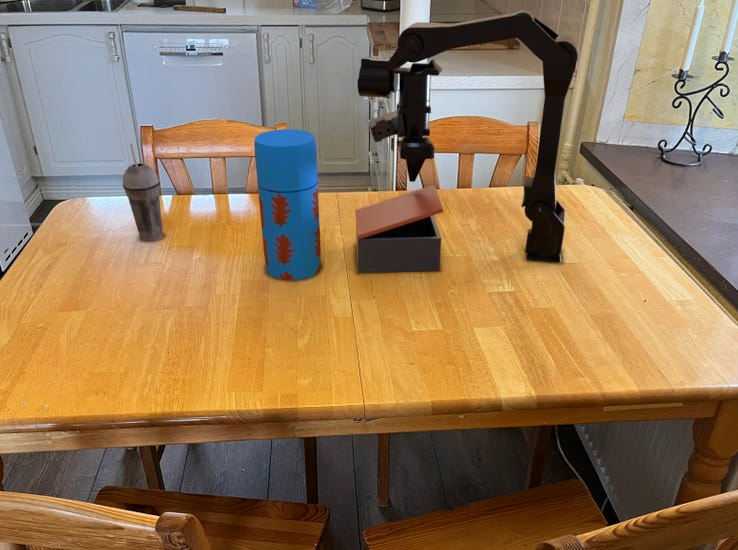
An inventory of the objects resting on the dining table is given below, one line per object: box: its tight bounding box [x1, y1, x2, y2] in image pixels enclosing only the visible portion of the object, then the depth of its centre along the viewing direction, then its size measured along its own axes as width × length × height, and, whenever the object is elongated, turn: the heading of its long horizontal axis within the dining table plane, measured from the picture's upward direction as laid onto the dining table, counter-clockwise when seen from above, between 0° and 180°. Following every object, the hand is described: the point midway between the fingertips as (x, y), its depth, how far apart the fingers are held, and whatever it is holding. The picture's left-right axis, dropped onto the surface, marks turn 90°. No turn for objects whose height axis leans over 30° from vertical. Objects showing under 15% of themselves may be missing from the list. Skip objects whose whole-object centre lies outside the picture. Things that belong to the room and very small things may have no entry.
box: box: [355, 215, 442, 274], centre depth 135 cm, size 16×13×7 cm
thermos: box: [253, 128, 322, 281], centre depth 126 cm, size 11×11×25 cm
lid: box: [355, 184, 444, 239], centre depth 131 cm, size 16×13×1 cm
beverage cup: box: [122, 142, 163, 242], centre depth 140 cm, size 7×7×20 cm
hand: (412, 181), depth 136 cm, fingers closed
